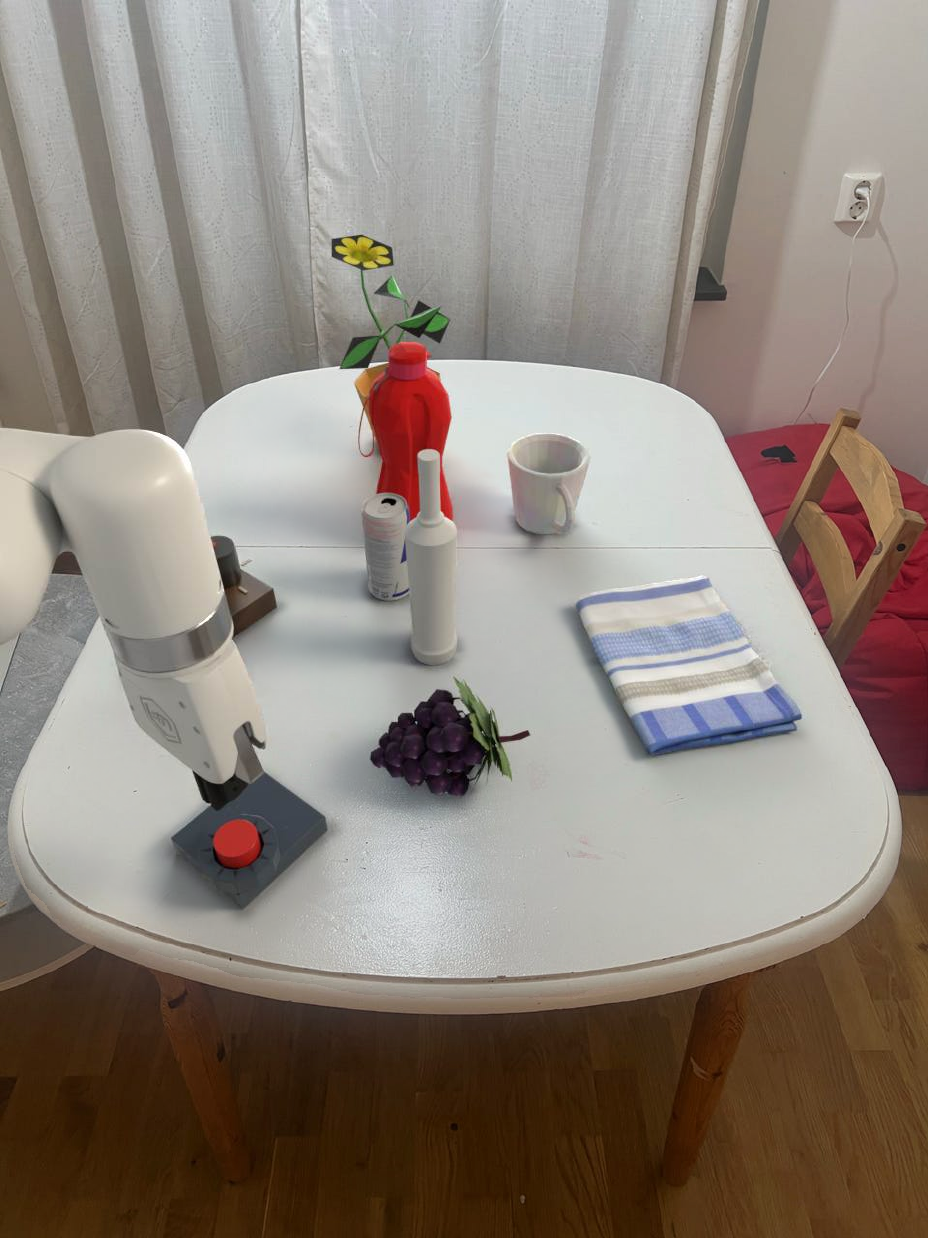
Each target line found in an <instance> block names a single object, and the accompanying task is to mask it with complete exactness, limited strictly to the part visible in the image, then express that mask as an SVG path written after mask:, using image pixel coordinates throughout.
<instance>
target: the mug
mask: <svg viewBox="0 0 928 1238" xmlns="http://www.w3.org/2000/svg"><path fill="white" fill-rule="evenodd" d="M506 457H507V466H508V472H509V481H510V488H511V495H512V503H513V512H514V517H515V521H516V523H517V524H518V525H519V527H521V528H522V529H523V530H525V531H527V532H530V533H533V534H535V535H536V534H537V535H554V534H555V535H556V534H558V535H563V536H564V535H567V534H569V533H570V532H572V529H573V528H574V524H575V520H576V519H575V518H576V509H577V506H578V502H579V499H580V495H581V492H582V489H583V486H584V482H585V479H586V476H587V472H588V468H589V466H590V462H591V454H590V452H589V449H588V448H587V447H586V446H585V445H584V444H583V443H582V442H581V441H579V440H577V439H575V438H574V437H571V436H567V435H564V434H561V433H553V432H552V433H551V432H543V433H533V434H527V435H524V436H522V437H519V438H518V439H515V441H514V442H512V444H510V446H509V447H508V450H507V453H506Z"/></svg>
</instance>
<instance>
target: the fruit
mask: <svg viewBox="0 0 928 1238" xmlns="http://www.w3.org/2000/svg"><path fill="white" fill-rule="evenodd" d="M452 678H453V680H454V683H455V685H456V687H457V688H458V692H459V696H460V697H458V696H457V697H454V695H453V694H452V692H450V691H448V690H446V689H440V688H439V689H438V688H436V689H435V691H434V692H433V693H432V694H431V695H430V697H429V698H427V700H424V701H422V700H420V702H419V703H418V705H417V706H416V707H415V708H414V710H413V712H400V714H399V715H398V716H397V721H391V722H390V724H389V725H388V729H387V732H384V733H383V734H382V735H381V737H379V739H378V746H379V747H376V748H375V749H374V750H372V751H371V752H370V758H369V760H370V761H371V764H372V765H373V766H374V767H376V768H378V769H385V770H386V771H387V772H388V774H389V776H390V777H391V778H393V779H403V780H404V781H405V782H406V784H407V785H408V786H409V788H418V787H421V786H422V785H423V783H424V782H425V784H426V786H427V789H428V791H429V793H430V794H433V795H442V794H445V793H446V794H448V795H450V796H453V797H456V798H459V799H460V798H461V797H463V796H464V795H466V793H467V792H468V791H469V787H470V782H472V781H475V783H474V785H473V788H472V790H471V792H470V794H469V795H471V794H472V792H473V790H474V789H475V787H476V785H477V783H478V781H479V780H480V777H481V775H482V773H483V770H484V769H485V767H486V764H487V775H489V773H490V769H491V766H492V764H494V767H497V769H498V770H499V772H501V777H502V778H503V777H504V776H506V777H508V779H509V780H510V782H511V783H513V775H512V769H511V764H510V761H509V758H508V755H507V754H506V751H505V748H504V746H503V744H504V743H510V742H515V741H521V740H523V739H526V738H528V737H530V736H531V733H530V731H529V729H526V730H524V731H520V732H517V733H515V734H512V735H500V730H499V725H498V720H497V716H496V713H495V709H494V708H493V707H492V706H490V710H489V711H488V709H487V707H486V706H485V704H484V703H483V701H482V700H481V699H480V697H479V696H478V695H477V694H473V691H472V689H471V688H470V686H469V685H468V684H467V682H466V680H464V678H463V679H462V680H463V681H462V680H458V678H457V677H456V676H454V675H453V676H452ZM475 695H476V696H475ZM455 700H460V701H461V702H462V704H463V705H464V707H465V708H466V709H467V711H468V712H469V713H465V711H464V710H463V709H462V710H461V709H458V708H457V706H456V705H455ZM461 714H463V716H462V715H461ZM477 765H478V766H479V765H480V766H479V769H478V770H477V772H476V774H475V776H474V777H472V778H469V777H468V776H469V775H470V774H471V772H472V771H473V769H475V767H476V766H477ZM488 779H489V777H487V778H486V783H485V785H487V784H488V781H489V780H488Z"/></svg>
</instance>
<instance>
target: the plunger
mask: <svg viewBox="0 0 928 1238" xmlns="http://www.w3.org/2000/svg"><path fill="white" fill-rule="evenodd" d="M213 844H214V848H215V851H216V854H217V857H218V859H219V861H220V862H221V863H222V864H223V865H224V866H226V867H229V868H241V867H245V866H247V865H249V864H250V863H252V862H253V861H254V860H255V859H256V858H257V856H258V854H259V852H260V848H261V844H260V840H259V836H258V833H257V830H256V828H255V826H254V825H253V824H252V823H250V822H248V821H245V820H234V821H230V822H228V823H226V824H224V825H223V826H221V827H220V828H219V829H218V831H217V832H216V834H215V836H214V840H213Z"/></svg>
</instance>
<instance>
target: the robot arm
mask: <svg viewBox="0 0 928 1238" xmlns="http://www.w3.org/2000/svg"><path fill="white" fill-rule="evenodd" d="M201 499H202V498H201V495H200V492H199V488H198V484H197V480H196V477H195V473H194V470H193V466H192V463H191V461H190V458H189V457H188V455H187V453H186V452H185V450H184V449H183V447H182V446H180V444H178V443H177V442H176V441H175V440H173V439H172V438H171V437H169V436H166V435H164V434H162V433H159V432H155V431H152V430H146V429H137V428H129V429H127V428H126V429H117V430H111V431H107V432H101V433H99V434H96V435H92V436H81V435H69V434H60V433H52V432H43V431H35V430H28V429H20V428H9V427H0V647H1V646H3V645H5V644H7V643H9V642H11V641H13V640H14V639H16V637H18V636H19V635H21V633H22V632H23V631H25V629H26V628H28V626H29V625H30V624H31V622H32V620H33V619H34V618H35V616H36V614H37V612H38V610H39V608H40V605H41V604H42V600H43V598H44V596H45V593H46V590H47V587H48V585H49V581H50V579H51V576H52V574H53V570H54V567H55V564H56V562H57V559H58V556H60V555H61V554H62V553H64V552H70V553H72V554H73V555H74V557H75V559H76V561H77V564H78V566H79V570H80V571H81V575H82V577H83V579H84V581H85V584H86V586H87V589H88V591H89V593H90V596H91V598H92V601H93V603H94V606H95V608H96V610H97V613H98V615H99V617H100V618H99V619H100V621H101V623H102V626H103V629H104V632H105V634H106V636H107V639H108V641H109V645H110V647H111V648H112V652H113V657H114V660H115V664H116V668H117V671H118V675H119V678H120V681H121V684H122V688H123V691H124V693H125V696H126V700H127V702H128V705H129V708H130V711H131V713H132V717H133V719H134V721H135V723H136V725H138V727H139V728H140V729H141V730H142V731H143V732H144V733H145V734H146V735H147V736H148V737H150V738H151V739H152V740H153V741H154V742H155V743H157V745H159V746H160V747H161V748H163V749H164V750H166V751H167V752H168V753H170V754H171V756H173V757H174V758H175V759H177V760H178V761H179V762H181V763H182V764H183V765H185V766H186V767H187V768H189V769H190V770H191V772H192V774H193V778H194V780H195V783H196V786H197V788H198V791H199V794H200V797H201V799H202V801H204V803H206V804H207V805H211V807H212V808H213V809H215V810H216V811H219V810H221V809H222V808H223V807H224V806H225V805H227V804H228V803H229V802H231V801H233V800H235V799H236V798H237V797H238V796H239V795H240V794H241V793H242V791H243V790H244V789H245V788H246V787H247V785H248V784H252V783H253V782H254V781H255V780H257V779H258V778H259V777H260V776H261V775H263V774H264V768H263V766H262V764H261V763H262V762H261V761H260V759H259V757H258V755H257V753H256V750H255V748H254V747H256V748H257V749H258V750H266V748H267V743H268V736H267V735H268V734H267V728H266V723H265V720H264V716H263V712H262V709H261V706H260V703H259V700H258V697H257V694H256V691H255V688H254V686H253V683H252V680H251V677H250V675H249V672H248V670H247V667H246V665H245V663H244V660H243V658H242V656H241V654H240V650H239V649H238V647H237V644H236V642H234V640H233V638H232V636H233V630H234V627H233V621H232V618H231V615H230V611H229V607H228V603H227V599H226V595H225V591H224V588H223V583H222V580H221V576H220V572H219V568H218V564H217V560H216V556H215V553H214V549H213V545H212V541H211V534H210V530H209V526H208V523H207V519H206V514H205V510H204V507H203V504H202V503H203V502H202V500H201Z"/></svg>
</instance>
